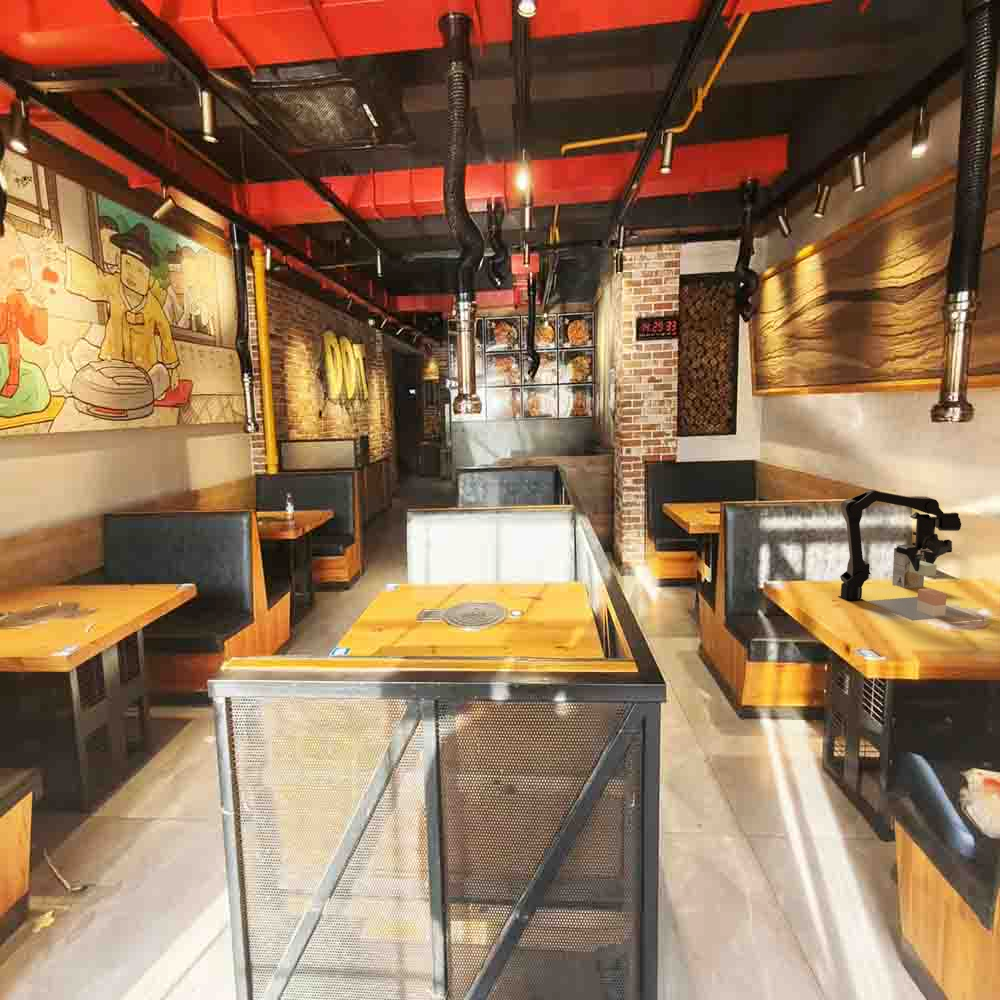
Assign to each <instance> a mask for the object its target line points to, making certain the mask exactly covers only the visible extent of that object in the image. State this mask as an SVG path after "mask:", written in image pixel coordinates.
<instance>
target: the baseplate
mask: <svg viewBox="0 0 1000 1000" xmlns="http://www.w3.org/2000/svg"><path fill="white" fill-rule="evenodd" d="M865 602H866V603H867V604H871V605H873V606H876V607H878V608H880V609H883V610H886V611H888V612H890V613H893V614H895V615H899V616H901V617H903V618H905V619H908V620H910V621H921V620H923V621H925V620H933V619H935V620H936V619H944V618H945V619H946V618H957V617H967V616H973V614H971V613H969V612H966V611H962V610H959V609H957V608H954V607H952V606H949V605H947V604H946V605H939V606H933V605H930V604H927V603H925V602H922V601H919V600H918V596H911V597H909V596H908V597H900V598H898V597H897V598H888V599H887V598H886V599H875V600H874V599H873V600H865Z"/></svg>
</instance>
